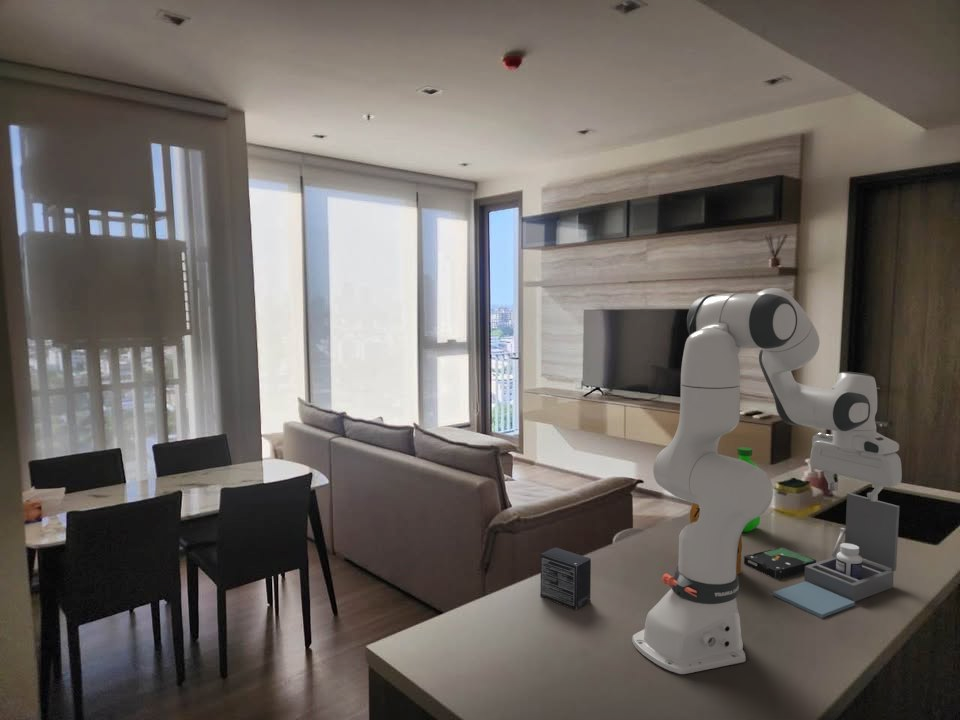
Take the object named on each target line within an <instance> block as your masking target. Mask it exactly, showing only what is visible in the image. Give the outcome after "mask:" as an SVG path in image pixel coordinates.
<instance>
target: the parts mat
mask: <svg viewBox="0 0 960 720" xmlns="http://www.w3.org/2000/svg"><path fill="white" fill-rule="evenodd" d="M772 596H774V597H775V598H778V599H780V600H782V601H784V602H787V603H789V604H791V605H793V606H795V607H797V608H799V609H801V610H803V611H805V612H808V613H810V614H812V615H814V616H816V617H819V618H820V619H822V618H826V617H829V616H831V615H833V614H836V613H839V612H841V611H844V610H846V609H850V608H852V607H854V606H855V604H856V602H854V601H851V600H849V599H847V598H844V597H842V596H839V595H837V594H835V593H832V592H830V591H828V590H825V589H823V588H821V587H818V586H816V585H813V584H811V583H809V582H806V581H805V582H804V581H802V582H799V583H796V584H793V585H790V586H787V587H784V588H781V589H778V590H776V591H773V592H772Z"/></svg>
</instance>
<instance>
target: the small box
mask: <svg viewBox="0 0 960 720" xmlns="http://www.w3.org/2000/svg"><path fill="white" fill-rule="evenodd" d="M539 556H540V558H539V559H540V597H541V598H543V599H546V598H547V600H549V601H551V600H552V602H554V601H555V602H554V603H557V602H558V603H557V604H559V603H560V604H559V605H562V606H564V605H565V607H567V606H568V607H567V608H569V607H570V609H572V608H573V609H572V610H574V609H575V610H574V611H577V610H580V608H582V607H583V606H585V605H586V604H588V603H590V602H591V585H592V584H591V575H592V574H591V573H592V571H591V566H592V565H591V564H592V562H591V561H592V560H591V559H592V558H591V557H587V556H584V555H582V554H579V553H574V552H571V551H568V550H565V549H562V548H559V547H553V548H552V547H551V549H548V550H546V551H544V552H542V553H540V555H539Z"/></svg>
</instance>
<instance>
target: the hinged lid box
mask: <svg viewBox="0 0 960 720" xmlns="http://www.w3.org/2000/svg"><path fill="white" fill-rule="evenodd" d="M845 510H846V512H845V514H846V515H845V527H840V528H839V536H838V538H837V541H836V543H835V544H834V545H835V546H834V548H833V550H832V554H831V556H832V557H830V558H826V559H823V560H821V561H816V563H814V564H810V565H807V566H805V572H804V577H803V578H804V581H803V582H805V581H806V582H809V583H811V584H813V585H816V586H818V587H821V588H823V589H825V590H828V591H830V592H832V593H835V594H837V595H839V596H842V597H844V598H847V599H849V600H851V601H854V602H855V603H856V602H858V601H861V600H863V599H865V598H868V597H871V596H874V595H876V594H879V593H882V592H884V591H887V590H889V589H893V588H894V574H895V573H894V572H896V571H897V561H898V559H897V557H898V541H899V538H898V537H899V524H900V523H899V522H900V521H899V519H900V505H896V504H892V503H888V502H886V501H885V502H884V501H881V500H877V501H875V502H873V501H869V500H867V497H866V496H862V495H859V494H856V493H851V492H847V493H846V509H845ZM844 536H845V537H844ZM843 538H844V543H849V544H854V545H857V546H858V547H859V554H858V555H859V556H861V558H862V578H861V580H858V579H855V578H853V577H850V576H847V575H845V574H842V573H840V572H837V571H836V557H837V553H838V550H839V549H840V544H842V543H841V542H842V541H843Z"/></svg>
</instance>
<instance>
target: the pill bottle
mask: <svg viewBox="0 0 960 720" xmlns="http://www.w3.org/2000/svg"><path fill="white" fill-rule="evenodd" d="M858 554H859V547H858V546H857V545H854V544H849V543H845V542H842V543H840V545H839V552H837V553H836V556H837V557H836V556H835V557H836V571H837V572H840V573H842V574H845V575H847V576H850V577H853V578H855V579H858V580H861V578H862V558H861V556H859V555H858Z"/></svg>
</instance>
